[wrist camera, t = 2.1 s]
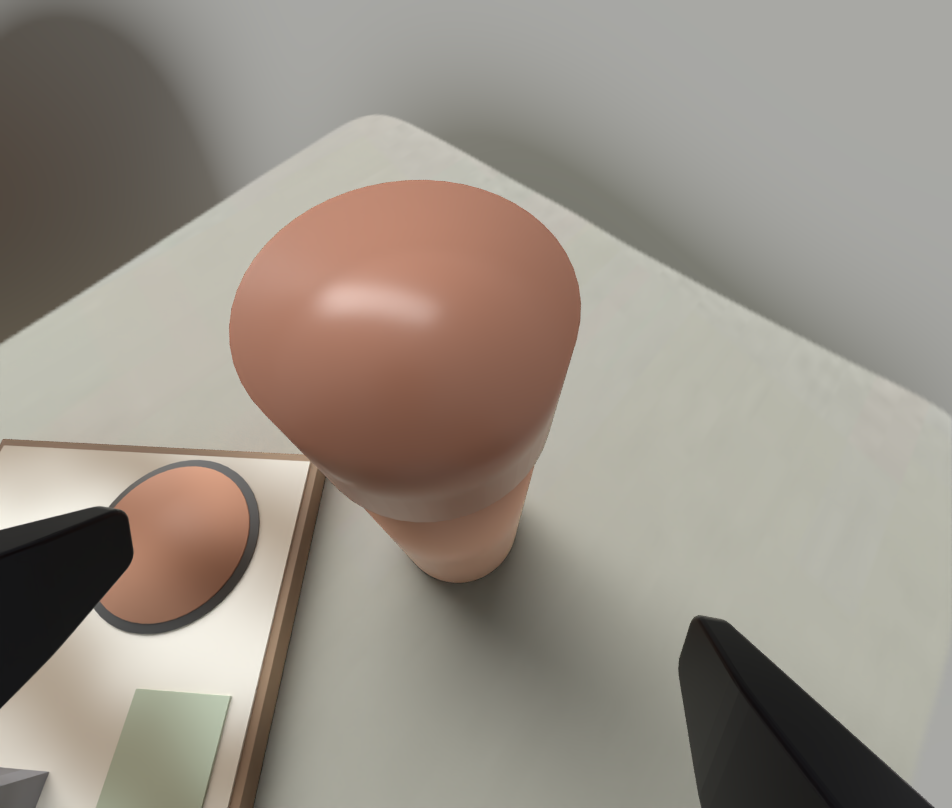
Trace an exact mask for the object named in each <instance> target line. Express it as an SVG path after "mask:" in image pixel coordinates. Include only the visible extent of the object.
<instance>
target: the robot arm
mask: <svg viewBox="0 0 952 808" xmlns="http://www.w3.org/2000/svg"><path fill="white" fill-rule="evenodd" d="M133 555H134V549H133V543H132V536H131V530H130V523H129V518H128V515H127V514H126V513H125V512H124V511H122V510H120V509H115V508H110V507H104V506H95V507H90V508H86V509H82V510H78V511H74V512H70V513H66V514H62V515H58V516H54V517H50V518H46V519H42V520H38V521H34V522H30V523H26V524H22V525H18V526H14V527H10V528H6V529H2V530H0V709H1V708H2V707H3V706H4V705H5V704H6V703H7V702H8V701H9V700H10V699H11V698H12V697H13V696H14V695H15V694H16V693H17V692H18V691H19V690H20V689H21V688H22V687H23V686H24V685H25V684H26V683H27V682H28V681H29V680H30V679H31V678H32V677H33V676H34V675H35V674H36V673H37V672H38V671H39V670H40V669H41V667H42V666H43V665H44V664H45V663H46V662H47V661H48V660H49V659H50V658H51V657H52V656H53V655H54V654H55V653H56V652H57V650H58V649H59V648H60V647H61V646H62V645H63V644H64V643H65V641H66V640H67V639H68V638H69V637H70V636H71V634H72V633H73V632H74V631H75V630H76V629H77V627H78V626H79V625H80V624H81V623H82V622H83V620H84V619H85V618H86V617H87V616H88V615H89V613H90V612H91V611H92V610H93V609H94V607H95V606H96V605H97V604H98V603H99V602H100V600H101V599H102V598H103V597H104V596H105V595H106V593H107V592H108V591H109V590H110V589H111V588H112V586H113V585H114V584H115V583H116V582H117V580H118V579H119V578H120V577H121V576H122V575H123V573H124V572H125V571H126V570H127V569H128V567H129V566H130V564H131V562H132V559H133ZM678 671H679V680H680V686H681V692H682V699H683V705H684V711H685V717H686V723H687V729H688V736H689V742H690V748H691V754H692V760H693V766H694V773H695V778H696V784H697V789H698V795H699V799H700V803H701V808H934V807H933V806H932V805H931V804H930V803H929V802H928V801H927V800H925V799H924V798H923V797H922V796H921V795H920V794H919V793H917V791H916V790H914V789H913V788H912V787H911V786H910V785H909V784H908V783H907V782H906V781H904V780H903V779H902V778H901V777H900V776H899V775H898V774H897V773H896V772H894V771H893V770H892V769H891V768H890V767H889V766H888V765H887V764H886V763H884V762H883V761H882V760H881V759H880V758H879V757H878V756H877V755H875V754H874V753H873V752H872V751H871V750H870V749H869V748H868V747H867V746H865V745H864V744H863V743H862V742H861V741H860V740H859V739H858V738H857V737H855V736H854V735H853V734H852V733H851V732H850V731H849V730H848V729H847V728H845V727H844V726H843V725H842V724H841V723H840V722H839V721H838V720H837V719H835V718H834V717H833V716H832V715H831V714H830V713H829V712H828V711H826V710H825V709H824V708H823V707H822V706H821V705H820V704H819V703H818V702H816V701H815V700H814V699H813V698H812V697H811V696H810V695H809V694H808V693H806V692H805V691H804V690H803V689H802V688H801V687H800V686H799V685H798V684H796V683H795V682H794V681H793V680H792V679H791V678H790V677H789V676H787V675H786V674H785V673H784V672H783V671H782V670H781V669H780V668H779V667H777V666H776V665H775V664H774V663H773V662H772V661H771V660H770V659H769V658H767V657H766V656H765V655H764V654H763V653H762V652H761V651H760V650H759V649H757V648H756V647H755V646H754V645H753V644H752V643H751V642H750V641H749V640H747V639H746V638H745V637H744V636H743V635H742V634H741V633H740V632H738V631H737V630H736V629H735V628H734V627H733V626H732V625H731V624H729V623H728V622H727V621H725V620H722V619H718V618H712V617H707V616H701V615H698V616H696V617H694V618H693V619H692V621H691V623H690V626H689V629H688V632H687V636H686V639H685V642H684V645H683V648H682V651H681V655H680V658H679V667H678Z"/></svg>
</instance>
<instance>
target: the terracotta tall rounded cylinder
mask: <svg viewBox="0 0 952 808" xmlns="http://www.w3.org/2000/svg"><path fill="white" fill-rule="evenodd" d="M580 312H581V300H580V293H579V285H578V282H577V278H576V275H575V272H574V269H573V266H572V264H571V262H570V260H569V258H568V256H567V254H566V252H565V251H564V249H563V248H562V246H561V245H560V243H559V242H558V240H557V239H556V238H555V236H554V235H553V234H552V233H551V232H550V231H549V230H548V229H547V228H546V227H545V226H544V225H543V224H542V223H541V222H540V221H539V220H537V219H536V218H535V217H534V216H533V215H531V214H530V213H529V212H527V211H526V210H524V209H523V208H521V207H519V206H518V205H516V204H515V203H513V202H511V201H509V200H507V199H505V198H503V197H501V196H499V195H496V194H493V193H491V192H488V191H485V190H482V189H479V188H475V187H471V186H468V185H464V184H458V183H452V182H445V181H432V180H405V181H396V182H387V183H382V184H377V185H371V186H367V187H363V188H360V189H356V190H353V191H349V192H347V193H344V194H341V195H339V196H336V197H334V198H331V199H329V200H327V201H325V202H323V203H321V204H319V205H317V206H315V207H313V208H311V209H310V210H308V211H306V212H305V213H303V214H302V215H300V216H298V217H297V218H295V219H294V220H293V221H292V222H290V223H289V224H288V225H286V226H285V227H284V228H282V229H281V230H280V231H279V232H278V233H277V234H276V235H275V236H274V237H273V238H272V239H271V240H270V241H269V242H268V243H267V244H266V245H265V246H264V247H263V248H262V250H261V251H260V252H259V253H258V254H257V256H256V257H255V258H254V260H253V261H252V263H251V265H250V266H249V268H248V269H247V271H246V272H245V274H244V276H243V278H242V281H241V283H240V285H239V287H238V289H237V292H236V295H235V299H234V302H233V305H232V309H231V317H230V324H229V337H230V349H231V354H232V358H233V363H234V366H235V368H236V371H237V373H238V376H239V379H240V381H241V383H242V385H243V386H244V388H245V389H246V391H247V393H248V394H249V396H250V398H251V399H252V400H253V401H254V403H255V404H256V405H257V406H258V407H259V408H260V409H261V410H262V412H263V413H264V414H265V415H266V416H267V417H268V418H269V419H270V420H271V421H272V422H273V423H274V424H275V425H276V426H277V427H278V428H279V429H280V430H281V431H282V432H283V433H284V434H285V435H286V436H287V437H288V439H289V440H290V441H291V442H292V443H293V444H294V445H295V446H296V447H297V448H298V449H299V450H300V451H301V452H302V453H303V454H304V455H305V456H306V457H307V458H308V459H309V460H310V461H311V462H312V463H313V464H314V465H315V466H316V467H317V468H318V469H319V470H320V471H321V472H322V473H323V474H324V475H325V476H326V477H327V478H328V479H329V480H330V481H331V482H332V483H333V484H334V485H335V487H336V488H337V489H338V490H339V491H341V492H342V493H343V494H344V495H346V496H347V497H348V498H349V499H350V500H352V501H353V502H355V503H357V504H358V505H360V506H362V507H363V508H364V509H365V510H366V511H367V512H368V513H369V514H370V515H371V516H372V517H373V518H374V520H375V521H376V522H377V523H378V524H379V525H380V526H381V527H382V528H383V529H384V530H385V531H386V533H387V534H388V535H389V536H390V537H391V538H392V539H393V540H394V541H395V542H396V543H397V544H398V546H399V547H400V548H401V549H402V550H403V551H404V552H405V553H406V554H407V555H408V556H409V557H410V558H411V560H412V561H413V562H414V563H415V564H416V565H417V566H418V567H419V568H420V569H421V570H422V571H424V572H425V573H427V574H428V575H430V576H431V577H434V578H436V579H438V580H442V581H445V582H451V583H464V582H470V581H474V580H477V579H480V578H482V577H484V576H486V575H488V574H489V573H491V572H492V571H493V570H495V569H496V568H497V567H498V566H499V565H500V564H501V563H502V562H503V561H504V559H505V558H506V556H507V555H508V553H509V551H510V550H511V548H512V545H513V542H514V539H515V535H516V532H517V528H518V524H519V521H520V517H521V513H522V509H523V506H524V502H525V498H526V494H527V491H528V487H529V483H530V480H531V476H532V472H533V468H534V465H535V463H536V461H537V460H538V458H539V456H540V454H541V452H542V450H543V448H544V445H545V443H546V440H547V437H548V434H549V431H550V427H551V424H552V421H553V417H554V414H555V411H556V407H557V404H558V400H559V397H560V394H561V390H562V387H563V384H564V380H565V377H566V373H567V370H568V367H569V363H570V360H571V357H572V353H573V350H574V347H575V343H576V340H577V335H578V330H579V325H580Z"/></svg>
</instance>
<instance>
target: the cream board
mask: <svg viewBox="0 0 952 808" xmlns="http://www.w3.org/2000/svg"><path fill="white" fill-rule="evenodd" d="M325 477H326V476H325V475H324V474H323V473H322V472H321V471H320V470H319V469H318V468H317V467H316V466H315V465H314V464H313V463H312V462H311V461H310V460H309V459H308V458H307V457H306V456H305V455H301V454H281V453H262V452H243V451H224V450H205V449H185V448H166V447H147V446H128V445H109V444H90V443H70V442H51V441H32V440H13V439H3V440H2V442H1V443H0V530H2V529H6V528H10V527H14V526H18V525H22V524H26V523H30V522H34V521H38V520H42V519H46V518H50V517H54V516H58V515H62V514H66V513H70V512H74V511H78V510H82V509H86V508H90V507H95V506H104V507H110V508H115V509H120V510H122V511H124V512H125V513H126V514H127V515H128V518H129V523H130V530H131V536H132V543H133V549H134V555H133V559H132V562H131V564H130V566H129V567H128V569H127V570H126V571H125V572H124V573H123V575H122V576H121V577H120V578H119V579H118V580H117V582H116V583H115V584H114V585H113V586H112V588H111V589H110V590H109V591H108V592H107V593H106V595H105V596H104V597H103V598H102V599H101V600H100V602H99V603H98V604H97V605H96V606H95V607H94V609H93V610H92V611H91V612H90V613H89V615H88V616H87V617H86V618H85V619H84V620H83V622H82V623H81V624H80V625H79V626H78V627H77V629H76V630H75V631H74V632H73V633H72V634H71V636H70V637H69V638H68V639H67V640H66V641H65V643H64V644H63V645H62V646H61V647H60V648H59V649H58V650H57V652H56V653H55V654H54V655H53V656H52V657H51V658H50V659H49V660H48V661H47V662H46V663H45V664H44V665H43V666H42V667H41V669H40V670H39V671H38V672H37V673H36V674H35V675H34V676H33V677H32V678H31V679H30V680H29V681H28V682H27V683H26V684H25V685H24V686H23V687H22V688H21V689H20V690H19V691H18V692H17V693H16V694H15V695H14V696H13V697H12V698H11V699H10V700H9V701H8V702H7V703H6V704H5V705H4V706H3V707H2V708H1V709H0V808H253V805H254V800H255V796H256V791H257V787H258V782H259V777H260V773H261V768H262V764H263V759H264V755H265V750H266V746H267V741H268V736H269V732H270V727H271V723H272V718H273V714H274V709H275V705H276V700H277V695H278V691H279V686H280V682H281V677H282V673H283V668H284V664H285V659H286V654H287V650H288V645H289V641H290V636H291V632H292V627H293V623H294V618H295V613H296V609H297V604H298V600H299V595H300V591H301V586H302V582H303V577H304V572H305V568H306V563H307V559H308V554H309V550H310V545H311V541H312V536H313V531H314V527H315V522H316V518H317V513H318V509H319V504H320V500H321V495H322V490H323V486H324V481H325Z"/></svg>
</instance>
